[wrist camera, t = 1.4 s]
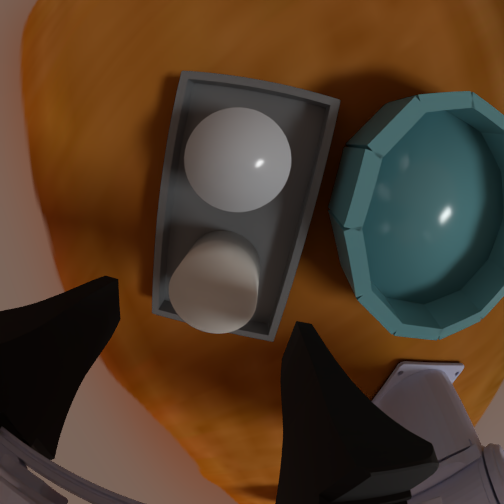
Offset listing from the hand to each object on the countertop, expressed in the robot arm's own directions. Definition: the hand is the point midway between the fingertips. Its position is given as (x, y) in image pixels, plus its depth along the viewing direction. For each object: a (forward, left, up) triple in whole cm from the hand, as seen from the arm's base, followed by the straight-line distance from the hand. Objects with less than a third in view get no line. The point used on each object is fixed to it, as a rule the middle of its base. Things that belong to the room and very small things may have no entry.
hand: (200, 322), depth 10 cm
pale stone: (0, 0, -5) cm, 5 cm away
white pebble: (+6, 0, -5) cm, 8 cm away
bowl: (+6, -11, -6) cm, 14 cm away
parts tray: (+3, 0, -6) cm, 7 cm away
